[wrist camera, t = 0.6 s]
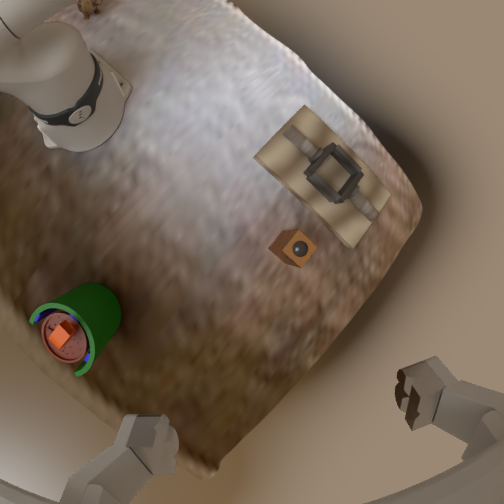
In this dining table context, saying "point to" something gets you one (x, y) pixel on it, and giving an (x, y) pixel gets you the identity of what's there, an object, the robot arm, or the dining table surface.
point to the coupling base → (324, 176)
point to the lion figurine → (88, 7)
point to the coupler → (293, 247)
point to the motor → (79, 324)
